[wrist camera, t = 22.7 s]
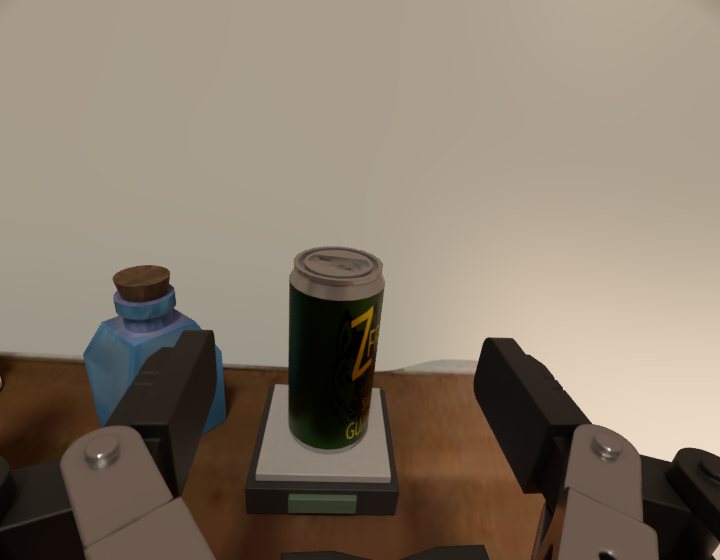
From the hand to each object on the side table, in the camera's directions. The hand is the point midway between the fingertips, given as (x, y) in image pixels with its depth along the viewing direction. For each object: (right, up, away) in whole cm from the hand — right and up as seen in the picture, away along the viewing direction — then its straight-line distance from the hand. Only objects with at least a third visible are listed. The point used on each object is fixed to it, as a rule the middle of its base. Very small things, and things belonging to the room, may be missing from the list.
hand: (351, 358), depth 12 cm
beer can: (-2, -8, +15) cm, 17 cm away
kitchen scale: (-2, -10, +16) cm, 19 cm away
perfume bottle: (-14, -8, +18) cm, 25 cm away
